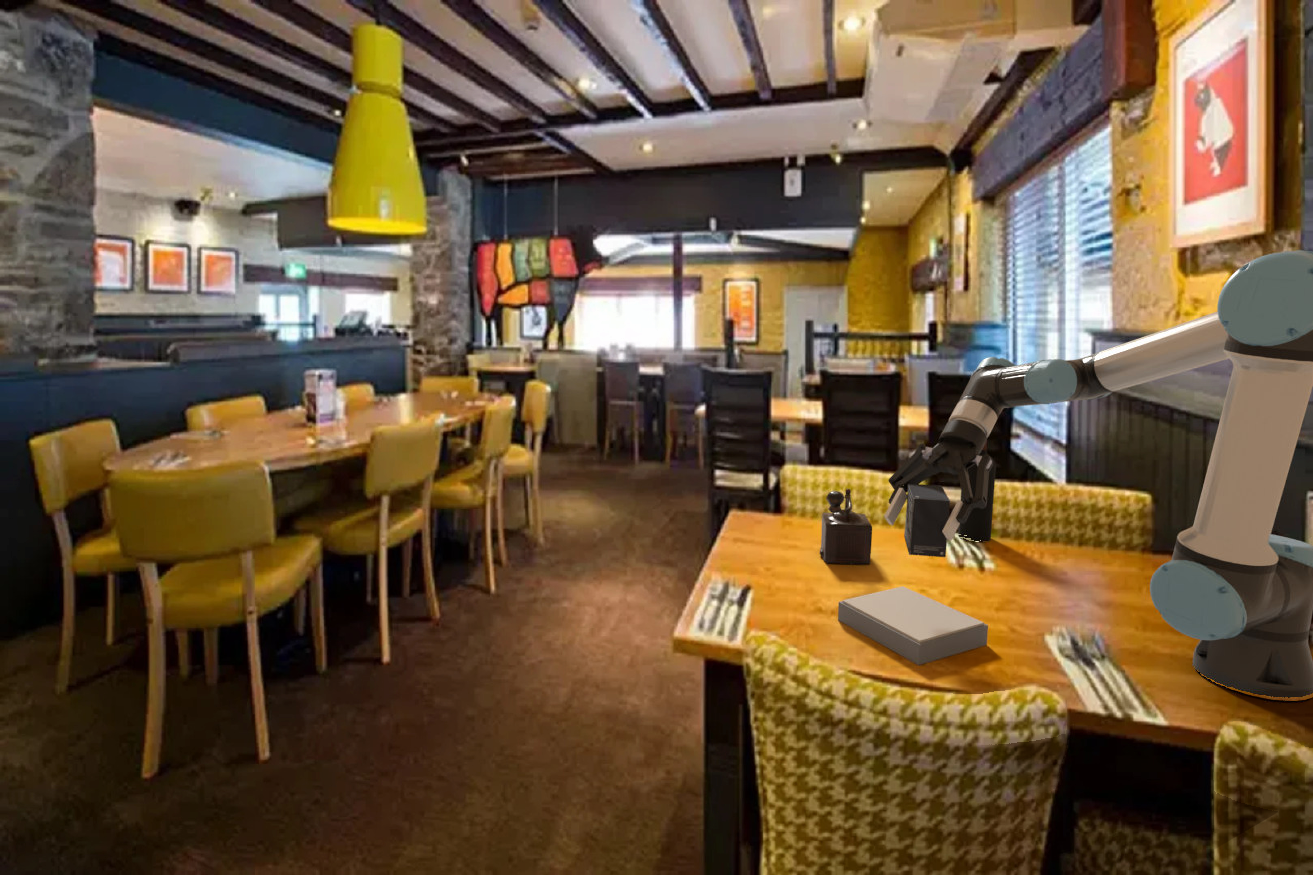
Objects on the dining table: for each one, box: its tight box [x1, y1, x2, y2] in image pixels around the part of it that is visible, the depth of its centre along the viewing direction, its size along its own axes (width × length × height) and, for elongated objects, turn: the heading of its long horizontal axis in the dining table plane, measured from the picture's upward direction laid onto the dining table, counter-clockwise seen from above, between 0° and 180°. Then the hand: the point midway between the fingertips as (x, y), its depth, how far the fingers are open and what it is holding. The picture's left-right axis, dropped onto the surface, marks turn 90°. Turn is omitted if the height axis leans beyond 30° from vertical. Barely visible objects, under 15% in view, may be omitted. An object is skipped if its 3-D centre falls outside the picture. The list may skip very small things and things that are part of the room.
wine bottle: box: [957, 440, 997, 543], centre depth 183 cm, size 8×8×30 cm
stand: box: [837, 585, 989, 666], centre depth 132 cm, size 20×16×4 cm
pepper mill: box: [819, 488, 873, 566], centre depth 169 cm, size 16×11×18 cm
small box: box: [903, 483, 951, 558], centre depth 131 cm, size 11×6×10 cm, turn 166°
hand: (916, 528), depth 130 cm, fingers closed on small box, 11 cm apart
